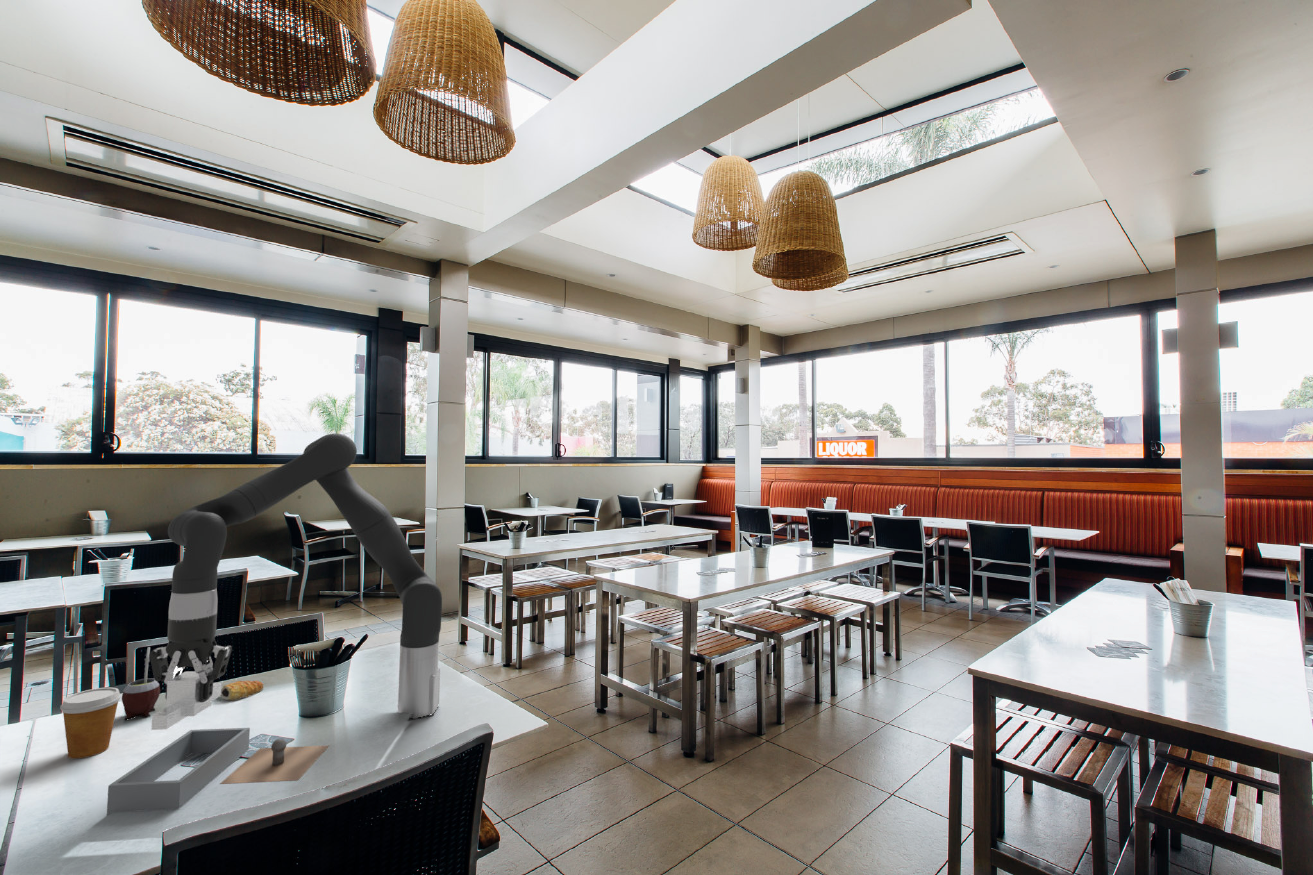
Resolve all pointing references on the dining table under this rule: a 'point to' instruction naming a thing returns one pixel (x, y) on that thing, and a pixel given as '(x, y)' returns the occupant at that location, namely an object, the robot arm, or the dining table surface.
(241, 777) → the stud base
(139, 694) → the mate gourd
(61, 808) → the dining table surface
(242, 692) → the pastry
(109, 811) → the bin
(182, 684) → the strut
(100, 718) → the disposable coffee cup
